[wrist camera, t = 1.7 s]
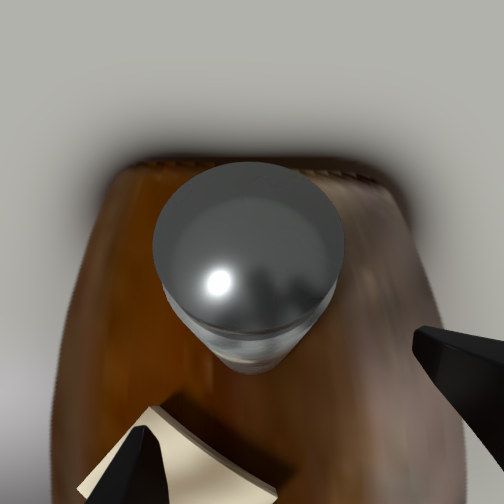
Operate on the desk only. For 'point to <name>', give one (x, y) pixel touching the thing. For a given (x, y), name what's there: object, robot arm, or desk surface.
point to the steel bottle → (249, 260)
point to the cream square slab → (191, 467)
